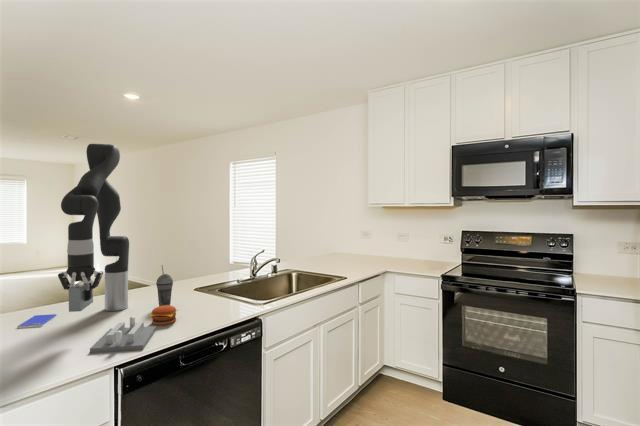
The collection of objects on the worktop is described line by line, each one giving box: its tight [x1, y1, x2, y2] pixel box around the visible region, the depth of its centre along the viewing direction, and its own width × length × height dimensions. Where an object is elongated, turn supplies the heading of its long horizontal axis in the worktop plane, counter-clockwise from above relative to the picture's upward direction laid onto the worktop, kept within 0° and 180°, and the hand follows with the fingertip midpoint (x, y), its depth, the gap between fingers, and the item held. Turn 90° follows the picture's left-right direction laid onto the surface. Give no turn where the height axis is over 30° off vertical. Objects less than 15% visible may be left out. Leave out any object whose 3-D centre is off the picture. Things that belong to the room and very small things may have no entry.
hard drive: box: [17, 313, 58, 329], centre depth 139 cm, size 2×8×12 cm
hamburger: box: [149, 305, 179, 327], centre depth 142 cm, size 9×10×7 cm
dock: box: [89, 315, 157, 354], centre depth 123 cm, size 18×16×6 cm
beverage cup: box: [155, 264, 174, 307], centre depth 160 cm, size 7×7×20 cm
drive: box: [68, 280, 94, 313], centre depth 121 cm, size 10×4×8 cm, turn 13°
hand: (81, 300), depth 121 cm, fingers closed on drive, 3 cm apart
